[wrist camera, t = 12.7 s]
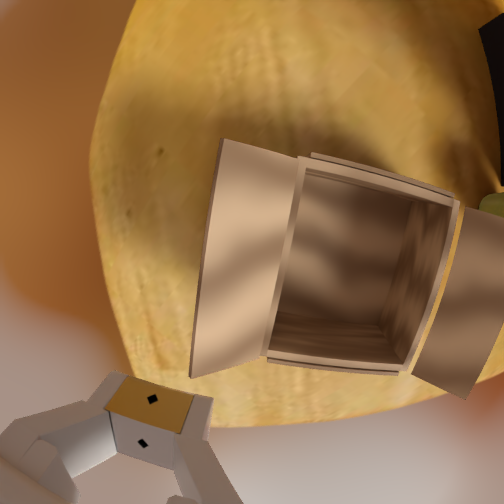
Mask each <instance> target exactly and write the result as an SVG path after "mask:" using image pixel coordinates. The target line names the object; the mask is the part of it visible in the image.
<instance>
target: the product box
mask: <svg viewBox="0 0 504 504" xmlns="http://www.w3.org/2000/svg"><path fill="white" fill-rule="evenodd" d="M478 30H479V33H480V37H481V40H482V43H483V47H484V51H485V54H486V58H487V62H488V67H489V71H490V76H491V80H492V85H493V91H494V97H495V103H496V110H497V117H498V126H499V137H500V151H501V186H503V187H504V13H502V14H501V15H499V16H498V17H496V18H494V19H493V20H491V21H490V22H488V23H487V24H485V25H484V26H482V27H481V28H479V29H478Z"/></svg>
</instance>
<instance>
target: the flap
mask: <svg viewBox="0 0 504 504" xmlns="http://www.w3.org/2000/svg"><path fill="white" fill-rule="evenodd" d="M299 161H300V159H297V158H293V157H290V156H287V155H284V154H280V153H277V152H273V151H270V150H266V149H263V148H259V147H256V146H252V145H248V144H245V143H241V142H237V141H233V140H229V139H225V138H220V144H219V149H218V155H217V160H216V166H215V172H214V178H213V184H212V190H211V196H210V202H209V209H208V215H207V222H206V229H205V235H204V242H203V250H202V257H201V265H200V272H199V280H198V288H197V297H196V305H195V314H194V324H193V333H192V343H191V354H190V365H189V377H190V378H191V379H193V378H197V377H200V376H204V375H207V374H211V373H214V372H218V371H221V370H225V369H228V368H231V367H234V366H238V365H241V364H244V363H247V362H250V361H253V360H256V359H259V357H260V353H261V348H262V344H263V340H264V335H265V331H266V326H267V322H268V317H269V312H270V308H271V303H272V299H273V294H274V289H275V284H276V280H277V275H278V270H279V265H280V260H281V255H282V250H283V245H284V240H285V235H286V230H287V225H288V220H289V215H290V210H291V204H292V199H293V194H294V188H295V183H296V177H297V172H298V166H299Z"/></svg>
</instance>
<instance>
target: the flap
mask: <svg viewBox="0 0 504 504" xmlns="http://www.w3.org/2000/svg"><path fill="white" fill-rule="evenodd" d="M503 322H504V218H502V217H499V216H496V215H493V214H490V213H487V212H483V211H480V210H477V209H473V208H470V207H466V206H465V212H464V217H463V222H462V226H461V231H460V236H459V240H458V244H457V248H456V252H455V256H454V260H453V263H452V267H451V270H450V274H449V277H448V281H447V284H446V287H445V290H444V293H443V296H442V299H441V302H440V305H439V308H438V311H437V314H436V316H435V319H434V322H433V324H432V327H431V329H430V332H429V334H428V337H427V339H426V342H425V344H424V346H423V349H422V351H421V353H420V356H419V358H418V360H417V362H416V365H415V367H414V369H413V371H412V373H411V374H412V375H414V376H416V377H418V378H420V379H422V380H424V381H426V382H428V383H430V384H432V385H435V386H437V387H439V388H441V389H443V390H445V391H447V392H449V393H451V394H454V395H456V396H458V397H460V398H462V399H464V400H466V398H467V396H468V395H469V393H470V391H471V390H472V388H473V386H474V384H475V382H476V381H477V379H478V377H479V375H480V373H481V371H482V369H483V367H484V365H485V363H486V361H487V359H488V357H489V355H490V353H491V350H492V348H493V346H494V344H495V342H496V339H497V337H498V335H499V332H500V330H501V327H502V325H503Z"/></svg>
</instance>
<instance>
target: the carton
mask: <svg viewBox="0 0 504 504" xmlns="http://www.w3.org/2000/svg"><path fill="white" fill-rule="evenodd" d="M296 158H297V159H300V161H299V166H298V172H297V177H296V183H295V188H294V194H293V199H292V204H291V210H290V215H289V220H288V225H287V230H286V235H285V240H284V245H283V250H282V255H281V260H280V265H279V270H278V275H277V280H276V284H275V289H274V294H273V299H272V303H271V308H270V312H269V317H268V322H267V326H266V331H265V335H264V340H263V344H262V348H261V353H260V356H266V357H267V362H268V363H275V364H281V365H288V366H295V367H303V368H310V369H319V370H328V371H337V372H348V373H360V374H375V375H393V376H398V374H399V371H407V369H408V367H409V365H410V363H411V360H412V358H413V356H414V354H415V351H416V349H417V347H418V344H419V342H420V339H421V337H422V334H423V332H424V329H425V327H426V324H427V321H428V319H429V316H430V313H431V311H432V308H433V305H434V302H435V299H436V296H437V293H438V290H439V287H440V283H441V280H442V277H443V274H444V270H445V267H446V263H447V259H448V255H449V252H450V248H451V244H452V239H453V235H454V231H455V226H456V221H457V216H458V211H459V206H460V201H458V200H455V199H453V198H454V195H455V193H452V192H449V191H447V190H444V189H441V188H438V187H435V186H433V185H430V184H427V183H424V182H421V181H418V180H415V179H412V178H408V177H405V176H402V175H399V174H395V173H392V172H389V171H385V170H382V169H378V168H375V167H371V166H367V165H364V164H360V163H356V162H352V161H348V160H344V159H340V158H336V157H332V156H327V155H323V154H318V153H314V152H311V153H310V154H309V155H307V156H306V157H302V156H297V157H296ZM450 197H453V198H450Z"/></svg>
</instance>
